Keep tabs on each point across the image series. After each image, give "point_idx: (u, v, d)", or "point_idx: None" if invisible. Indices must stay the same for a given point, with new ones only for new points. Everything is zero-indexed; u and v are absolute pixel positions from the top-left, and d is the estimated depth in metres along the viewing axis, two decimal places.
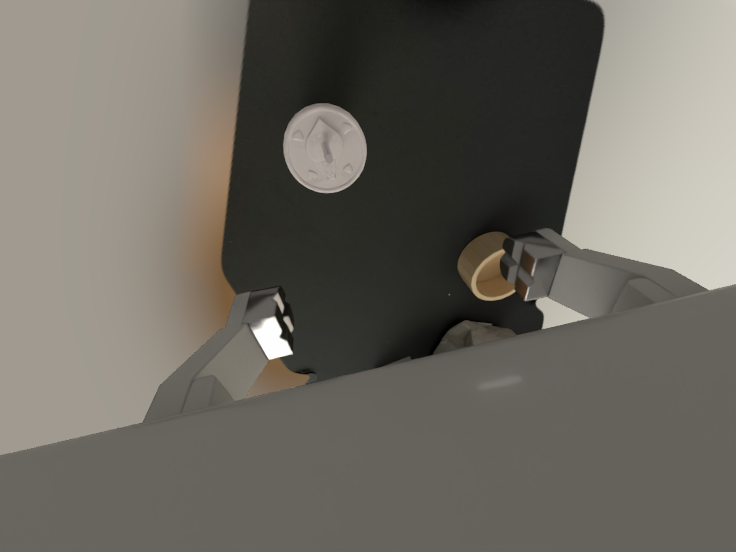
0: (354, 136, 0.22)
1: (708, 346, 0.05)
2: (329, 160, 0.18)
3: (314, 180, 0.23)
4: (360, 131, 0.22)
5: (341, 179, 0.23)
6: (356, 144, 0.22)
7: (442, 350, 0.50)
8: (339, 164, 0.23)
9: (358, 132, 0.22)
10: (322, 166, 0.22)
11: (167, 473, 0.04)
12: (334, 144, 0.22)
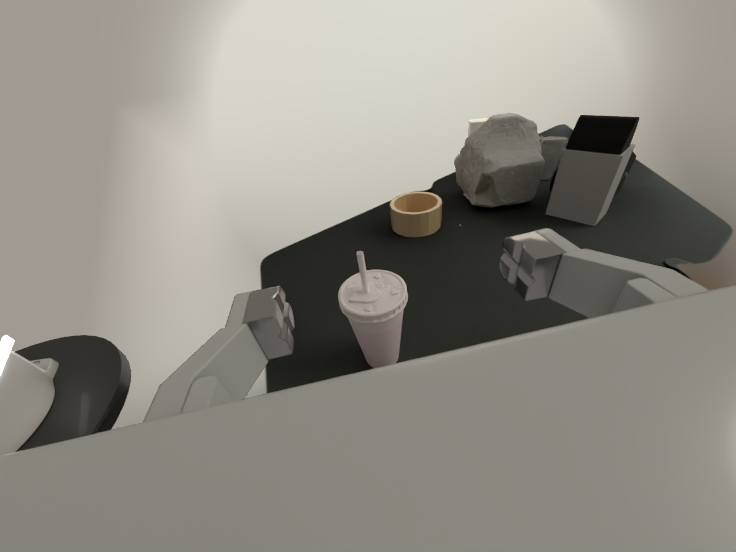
0: (353, 281, 0.28)
1: (708, 346, 0.05)
2: (361, 253, 0.23)
3: (397, 289, 0.26)
4: (347, 279, 0.28)
5: (387, 276, 0.28)
6: (357, 278, 0.28)
7: (510, 196, 0.52)
8: (376, 281, 0.27)
9: (349, 280, 0.28)
10: (383, 288, 0.26)
11: (167, 473, 0.04)
12: (362, 287, 0.26)
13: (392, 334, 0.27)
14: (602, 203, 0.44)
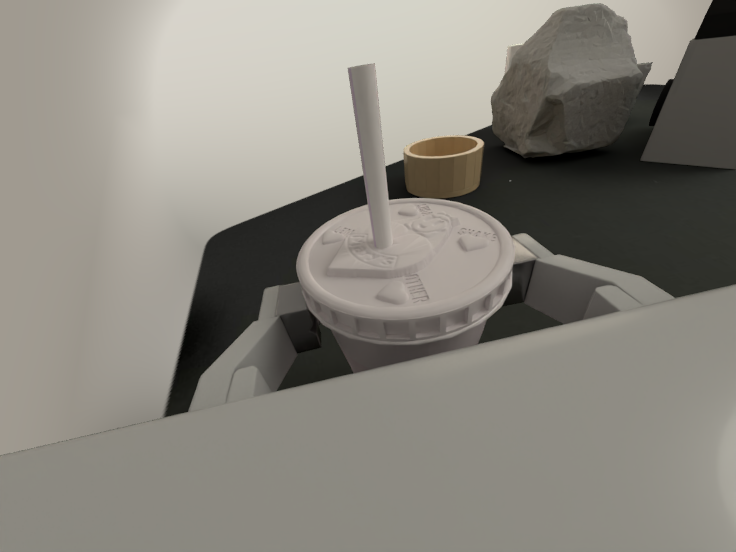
0: (343, 225, 0.10)
1: (708, 346, 0.05)
2: (366, 71, 0.06)
3: (480, 235, 0.08)
4: (328, 221, 0.10)
5: (437, 210, 0.10)
6: (355, 219, 0.10)
7: (584, 136, 0.34)
8: (409, 219, 0.10)
9: (331, 223, 0.10)
10: (433, 232, 0.09)
11: (167, 473, 0.04)
12: (371, 233, 0.09)
13: None
14: None
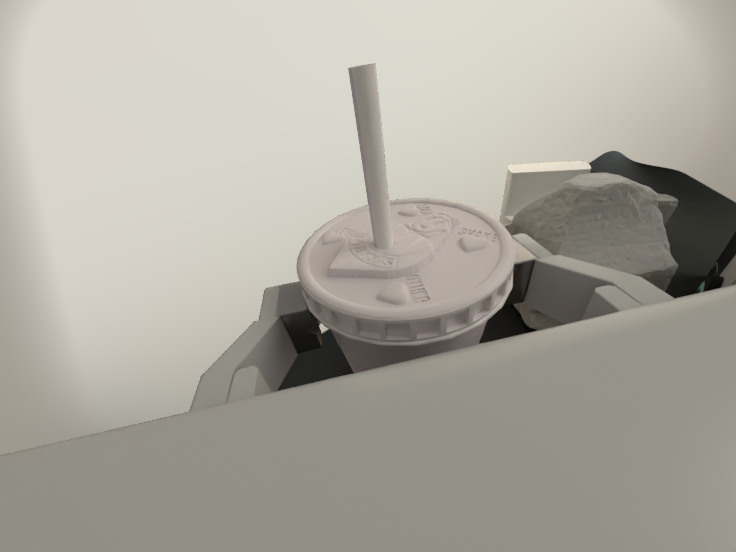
0: (343, 225, 0.10)
1: (708, 346, 0.05)
2: (366, 71, 0.06)
3: (480, 236, 0.08)
4: (329, 221, 0.10)
5: (438, 210, 0.10)
6: (355, 219, 0.10)
7: None
8: (409, 220, 0.10)
9: (332, 223, 0.10)
10: (434, 232, 0.08)
11: (167, 473, 0.04)
12: (371, 233, 0.09)
13: None
14: None
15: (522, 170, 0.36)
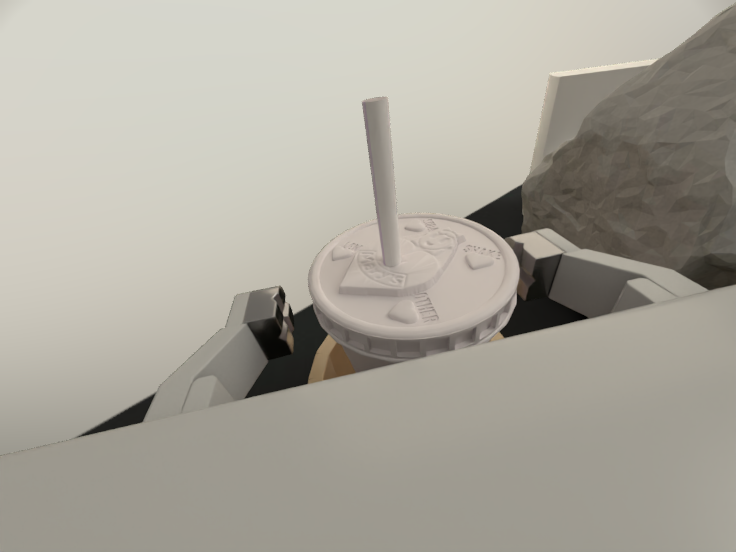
0: (351, 240, 0.10)
1: (708, 346, 0.05)
2: (379, 104, 0.06)
3: (485, 253, 0.09)
4: (337, 236, 0.11)
5: (443, 226, 0.10)
6: (363, 234, 0.11)
7: None
8: (415, 236, 0.10)
9: (340, 238, 0.11)
10: (440, 250, 0.09)
11: (167, 473, 0.04)
12: (380, 250, 0.09)
13: None
14: None
15: (576, 73, 0.22)
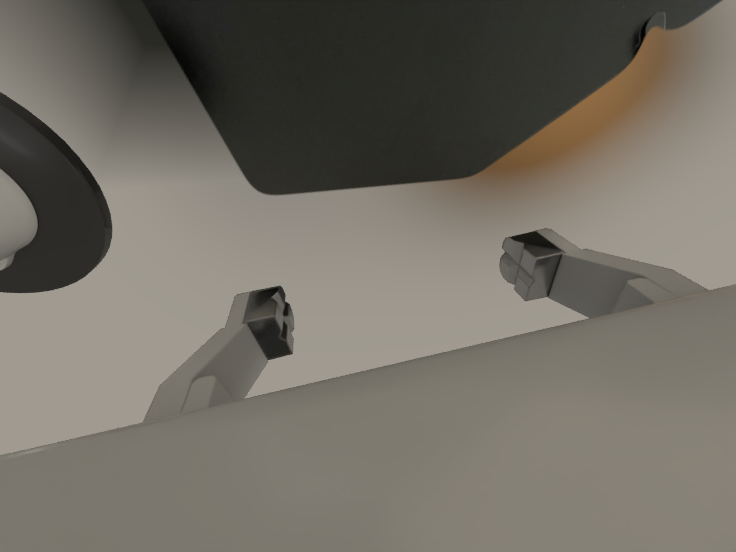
0: None
1: (708, 346, 0.05)
2: None
3: None
4: None
5: None
6: None
7: None
8: None
9: None
10: None
11: (167, 473, 0.04)
12: None
13: None
14: None
15: None
